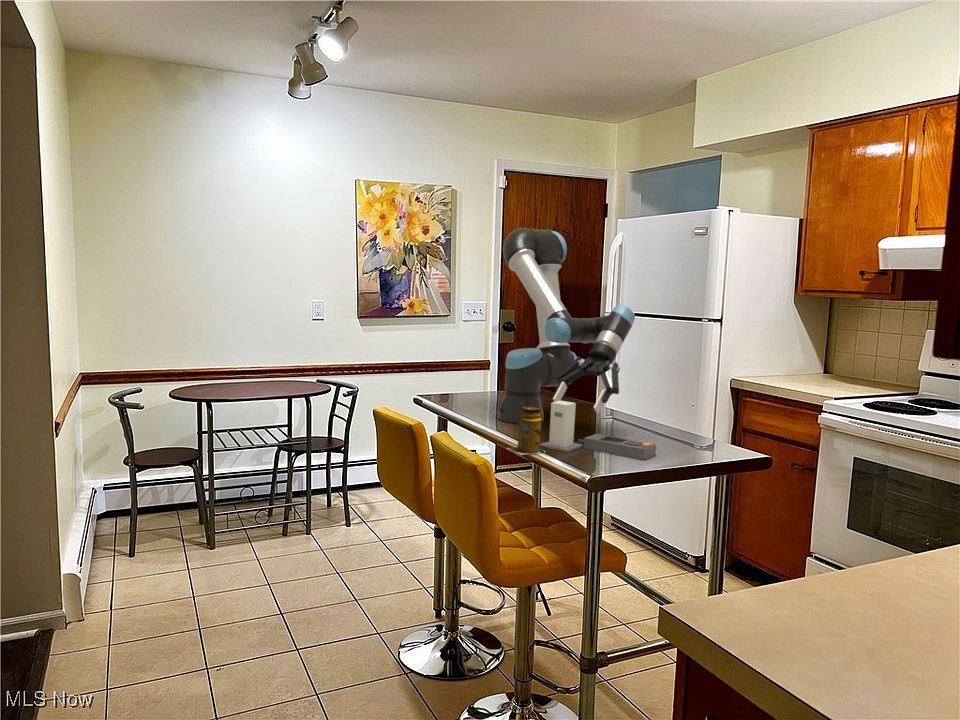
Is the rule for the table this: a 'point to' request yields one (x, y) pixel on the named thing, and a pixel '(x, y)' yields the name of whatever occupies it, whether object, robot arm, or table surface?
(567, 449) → the mat
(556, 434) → the block
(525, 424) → the condiment
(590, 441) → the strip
